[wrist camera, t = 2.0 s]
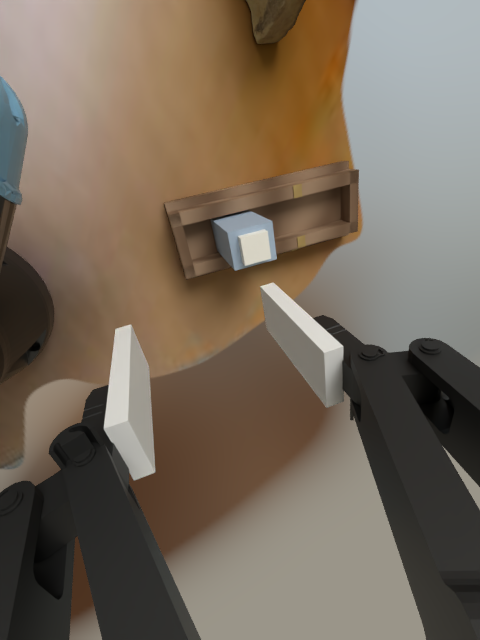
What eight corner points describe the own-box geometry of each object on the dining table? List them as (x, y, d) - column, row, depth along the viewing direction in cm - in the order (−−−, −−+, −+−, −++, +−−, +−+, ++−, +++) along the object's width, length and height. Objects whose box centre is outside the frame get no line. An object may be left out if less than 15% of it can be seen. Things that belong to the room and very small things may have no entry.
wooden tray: (185, 277, 35) (189, 286, 32) (163, 202, 30) (166, 206, 28) (343, 233, 38) (358, 238, 35) (343, 160, 34) (359, 161, 31)
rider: (217, 250, 33) (237, 273, 26) (210, 218, 31) (229, 234, 25) (252, 241, 34) (280, 261, 27) (247, 209, 32) (275, 222, 25)
